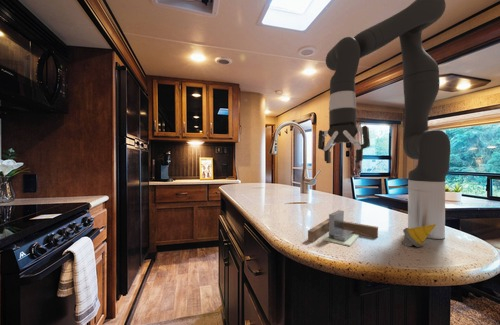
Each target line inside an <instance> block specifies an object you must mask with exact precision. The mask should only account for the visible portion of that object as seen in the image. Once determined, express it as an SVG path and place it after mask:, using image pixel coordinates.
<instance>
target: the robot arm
mask: <svg viewBox="0 0 500 325" xmlns="http://www.w3.org/2000/svg"><path fill="white" fill-rule="evenodd" d="M445 11H446V1H445V0H414V1H413V2H412V3H411V4H409V5H408V6H407V7H405V8H404V9H402V10H400V11H399V12H397V13H395V14H394V15H392V16H390V17H388V18H386V19H384V20H382V21H380V22H379V23H376V24H374V25H372V26H370V27H368V28H366V29H364V30H362V31H360V32H359V33H357V34H356V35H354V37H352V36H346V37H343V38H341V39H340V40H339V41H338V42H337V43H336V44H335V45H334V46H333V47H332V48H331V49H330V50H329V51H328V53H327V54H326V57H325V65H326V67H327V68H328V69H329V70H330V71H334V73H333V75H332V76H331V78H330V80H329V102H328V115H329V116H328V121H329V122H328V125H329V127H328V130H318V142H317V144H318V145H317V149H319V150H322V151H323V152H324V155H323V156H324V162H325V163H326V164H331V163H332V161H331V160H332V158H331V157H332V153H331V152H332V151H331V150H332V148H333V147H334V146H335V145H336V144H342V143H345V144H349V143H351V144H352V145H353V146H354V147H355V149H356V150H355V163H356V164H360V163H361V162H362V161H363V160H364V159H363V158H364V155H363V154H364V152H363V150H365V149H368V148H370V146H371V143H370V142H371V141H370V129H369V128H370V127H368V126H367V125H363V126H361V127H358V126H357V97H356V75H357V72H358V69H359V68H358V67H359V63H360V59H362V58H364V57H365V56H368V55H370V54H372V53H374V52H376V51H378V50H380V49H381V48H383V47H385V46H386V45H388V44H390V43H391V42H393V41H394V40H396V39H397V38H399V44H400V50H401V59H402V61H401V62H402V84H403V86H402V87H403V97H404V99H403V100H404V104H403V105H404V127H403V139H402V148H403V150H404V153H405V155H406V156H407V157H408V158H409V159H412V160H416V161H417V160H418V162H417V165H416V167H414V169H412V170H410V171H409V172H408V175H407V176H408V177H407V179H408V180H407V181H408V182H407V191H408V192H407V228H409V229H410V228H416V227H422V226H428V225H434V224H436V226H435V227H434V228H433V230H432V231H431V232H430V234H429V235H427V238H426V239H433V240H434V239H435V240H440V239H442V240H443V239H445V238H446V176H447V175H448V173H449V170H450V161H451V140H450V137H449V136H448V134H447V133H446V132H445V131H443V130H442V129H441V130H440V129H429V126H428V124H429V123H428V121H429V115H430V111H431V110H432V107H433V105H434V102H435V101H436V99H437V96H438V94H439V92H440V91H439V90H440V67H439V64H438V62H436V60H435V59H434V58H433V57H432V56H431V55H430V54H429V53H428V52H426V50H425V48H424V46H423V40H422V32H423V31H424V30H425V29H427V28H429V27H430V26H432V25H433V24H435V23H436V22H438V20H440V18H442V17H443V15H444V13H445ZM358 133H359V134H360V135H362V141H363V142H362V144H361V143H360V142H359V141H358V139H357V138H356V135H357V134H358ZM327 136H329V137H330V138H329V139H328V141H327V142H326V138H327ZM325 142H326V143H325Z"/></svg>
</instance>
